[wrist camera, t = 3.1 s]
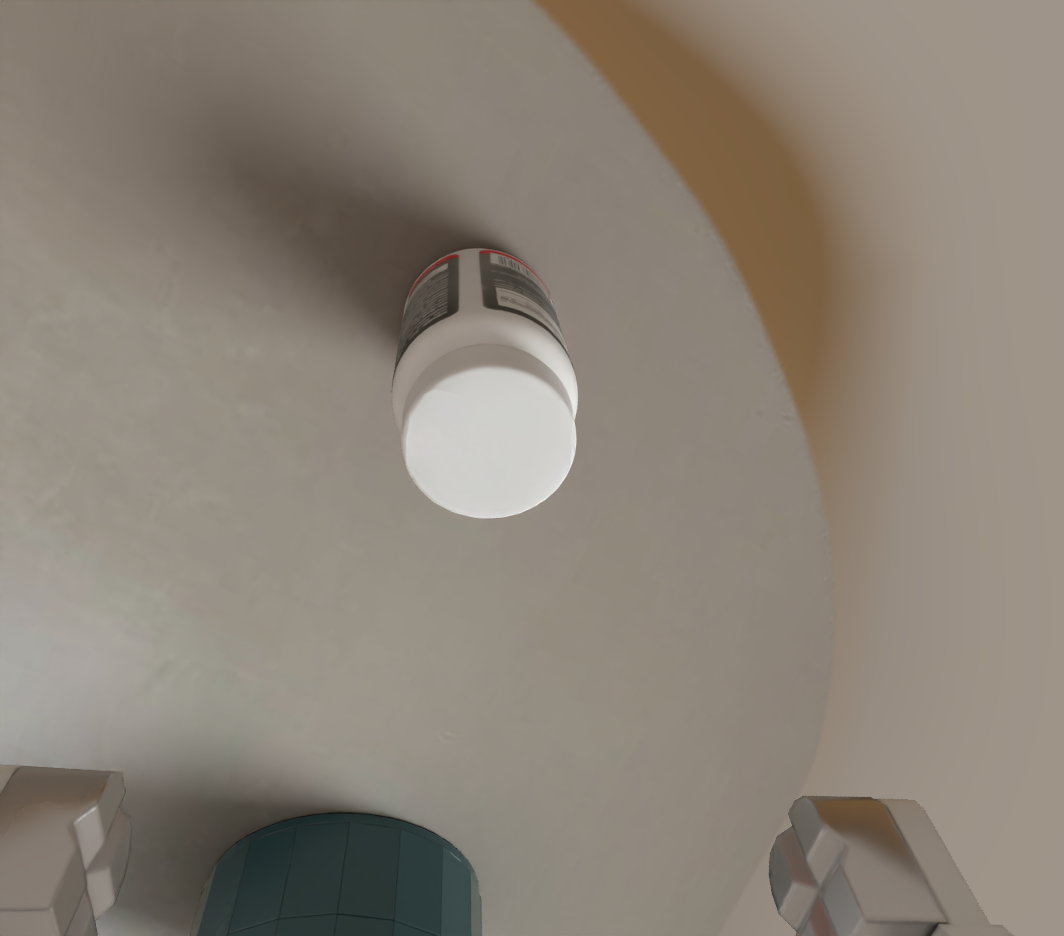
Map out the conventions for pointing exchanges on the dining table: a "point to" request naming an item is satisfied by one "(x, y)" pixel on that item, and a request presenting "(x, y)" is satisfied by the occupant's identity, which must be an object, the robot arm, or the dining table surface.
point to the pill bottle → (484, 386)
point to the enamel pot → (340, 882)
